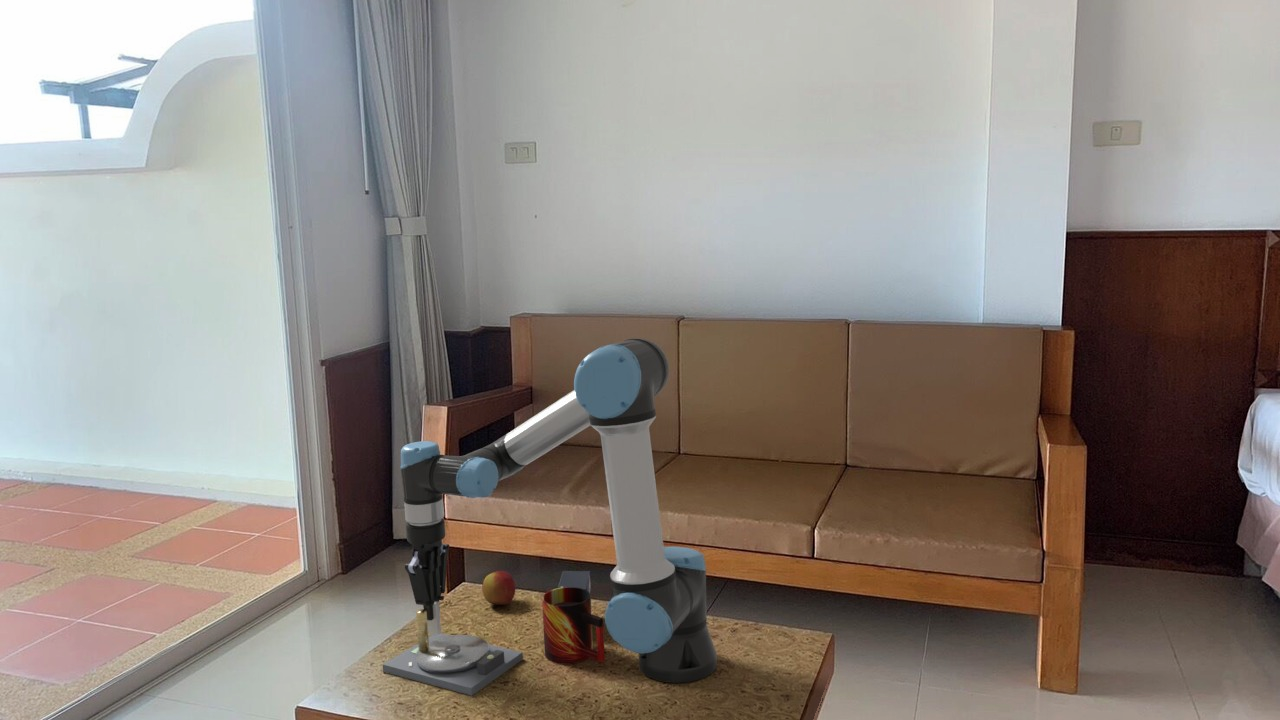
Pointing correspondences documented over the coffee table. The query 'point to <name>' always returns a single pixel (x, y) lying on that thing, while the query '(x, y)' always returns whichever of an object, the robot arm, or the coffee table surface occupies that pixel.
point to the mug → (570, 626)
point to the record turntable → (455, 681)
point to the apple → (499, 588)
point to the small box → (576, 580)
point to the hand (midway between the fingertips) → (433, 632)
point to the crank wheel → (447, 649)
